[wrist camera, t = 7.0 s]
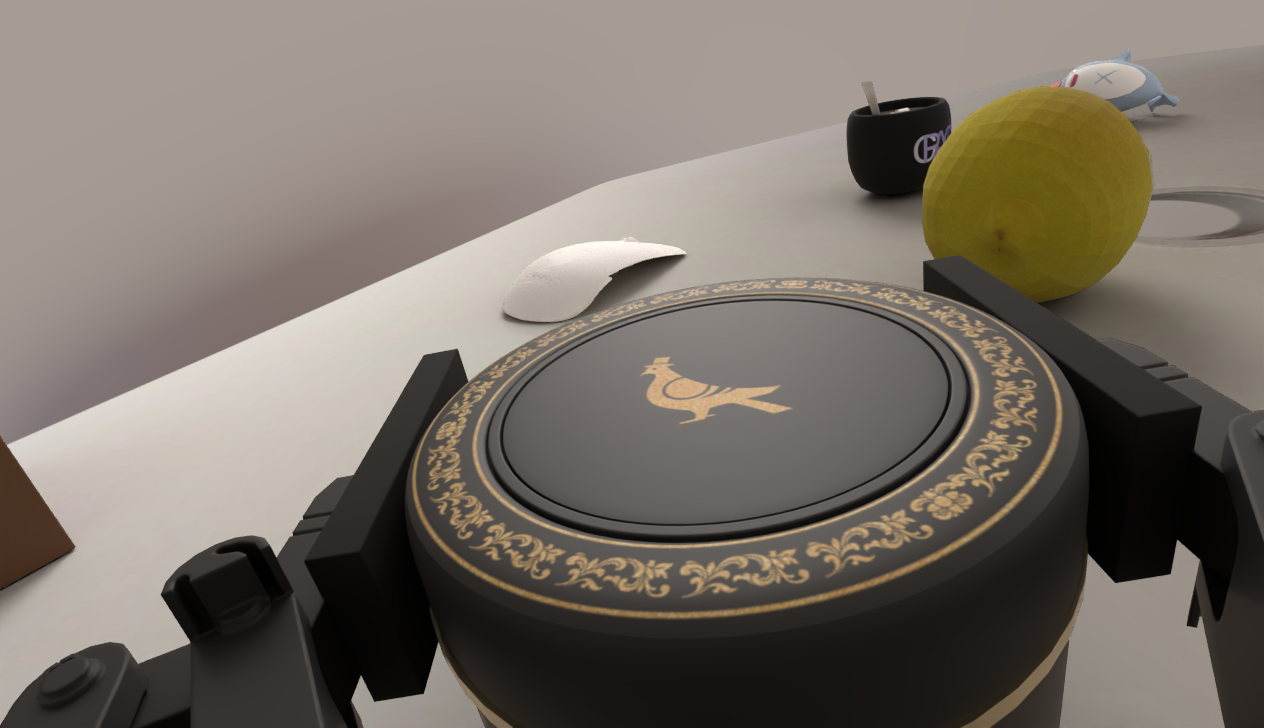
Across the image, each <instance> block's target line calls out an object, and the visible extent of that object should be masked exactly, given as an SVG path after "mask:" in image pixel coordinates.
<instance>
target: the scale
mask: <svg viewBox="0 0 1264 728" xmlns="http://www.w3.org/2000/svg"><path fill="white" fill-rule="evenodd" d="M74 548H75V545H74V544H73V542H72V541H71V539H70V538H69V536H68V535H67V534H66V532H65V531H64V529H63V528H62V526H61V525H60V523H59V522H58V520H57V519H56V517H55V516H54V514H53V513H52V511H51V510H50V508H49V507H48V506H47V504H46V503H45V501H44V500H43V498H42V497H41V495H40V494H39V492H38V491H37V489H36V488H35V486H34V485H33V483H32V482H31V480H30V479H29V478H28V476H27V475H26V473H25V472H24V470H23V469H22V467H21V466H20V464H19V463H18V461H17V460H16V458H15V457H14V455H13V454H12V452H11V451H10V449H9V448H8V447H7V445H6V444H5V442H4V441H3V439H2V438H1V436H0V590H1V589H2V588H4V587H6V586H8V585H10V584H11V583H13V582H15V581H17V580H19V579H20V578H22V577H24V576H26V575H28V574H29V573H31V572H33V571H35V570H37V569H38V568H40V567H42V566H44V565H46V564H47V563H49V562H51V561H53V560H55V559H56V558H58V557H60V556H62V555H64V554H66V553H67V552H69V551H71V550H73V549H74Z"/></svg>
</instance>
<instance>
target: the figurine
mask: <svg viewBox="0 0 1264 728" xmlns="http://www.w3.org/2000/svg"><path fill="white" fill-rule="evenodd" d="M1130 60H1131V51H1130V49H1127V50H1126V51H1125V52H1124V53H1123V54H1122V55H1121V56H1119V57H1117V58H1115V59H1113V60H1111V61H1098V62H1091V63H1087V64H1083V65H1081V66H1079V67H1078V68H1076V69H1075V70H1073V71H1072V72H1071V73H1070V74H1068V75H1067V76H1066V78H1065V79H1064V80H1063V81H1061V82H1058V83H1055V84H1053V85H1051V86H1050V87H1069V88H1073V89H1077V90H1081V91H1085V92H1089V93H1091V94H1093V95H1096V96H1098V97H1100V98H1102V99H1105V100H1107V101H1109V102H1110V103H1112V104H1113V105H1114V106H1115V107H1117V108H1118V109H1119V110H1120V111H1121V112H1122V111H1126V110H1129V109H1131V108H1134V107H1137V106H1140V105H1142V104H1145V103H1147V102H1149V101H1150V100H1151V101H1150V102H1149V103H1148V106H1149V108H1150V111H1151V112H1153V110H1154V109H1155V108H1156V107H1157V106H1160V105H1164V104H1167V105H1172V106H1173V107H1174V106H1176V105H1177V104H1178V103H1179V99H1178V97H1176V96H1171V95H1168V94H1167V93H1165V92H1164V90H1163V88H1162V86H1161V85H1160V83H1159V81H1158V80H1157V78H1156V77H1155V75H1153V74H1152V73H1150V72H1148V71H1147V70H1146V69H1144V68H1143V67H1140V66H1138V65H1136V64H1132V63H1129V62H1130ZM1157 96H1158V97H1157Z"/></svg>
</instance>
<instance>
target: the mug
mask: <svg viewBox="0 0 1264 728" xmlns="http://www.w3.org/2000/svg"><path fill="white" fill-rule="evenodd" d="M862 86H863V89H864V92H865V94H866V97H867V100H868V103H869V106H866V107H863V108H860V109H857V110H855V111H853V112H852V113H851V114H850V116H849V118H848V122H847V151H848V161H849V165H850V169H851V172H852V174H853V176H854V178H855V180H856V182H857V183H858V184H859V185H860V187H861V188H863V189H865V190H867V191H870V192H872V193H878V194H897V193H905V192H911V191H915V190H919V189H922V188H923V185H924V182H925V179H926V176H927V172H928V169H929V166H930V164H931V163H932V161H933V159H934V157H935V156H936V154H937V152H938V151H939V149H940V148H941V147H942V145H943V144H944V142H945V141H946V140H947V138H948V137H949V136H950V134H951V113H950V108H949V104H948V103H947V101H946V100H945V99H944V98H939V97H920V98H909V99H901V100H894V101H888V102H883V103H877V99H876V95H875V91H874V88H873V84H872V82H862Z"/></svg>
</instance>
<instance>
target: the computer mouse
mask: <svg viewBox="0 0 1264 728" xmlns="http://www.w3.org/2000/svg"><path fill="white" fill-rule="evenodd" d="M677 254H686V253H685V251H684V250H682V249H679V248H677V247H672V246H667V245H660V244H651V243H639V242H638V241H637V240H636V239H634V238H632V237H626V238H623V239H622V240H621V241H600V242H599V241H598V242H587V243H581V244H576V245H572V246H568V247H564V248H561V249H558V250H555V251H553V252H550V253H548V254H546V255H544V256H542V257H540V258H538V259H537V260H535V261H534V262H532V263H531V264H530V265H528V266H527V267H526V268H525V269H524V270H523V271H522V272H521V273H520V275H519V276H518V277H517V278H516V280H515V281H514V283H513V284H512V286H511V288H510V289H509V291H508V293H507V295H506V297H505V299H504V302H503V310H504V311H505V313H507V314H508V315H510V316H512V317H515V318H517V319H522V320H528V321H537V322H539V321H542V322H557V321H562V320H567V319H570V318H573V317H575V316H577V315H578V314H579V313H581V312H582V311H583V310H585V309H586V308H587V307H588V306H589V305H590V304H591V303H592V302H593V300H594V298H595V297H596V296H597V295H598V292H600V290H602V289H603V287H605V285H607V283H608V282H610V281H611V279H612V277H611V278H610V277H608V276H609V275H612V274H613V273H616V272H618V271H619V270H622V268H625V267H627V266H628V265H629V266H631V265H633V264H634V263H638V262H641V261H644V260H648V259H652V258H657V257H661V256H662V257H663V256H668V255H669V256H670V255H677Z"/></svg>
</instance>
